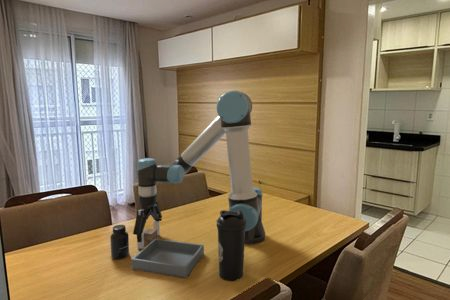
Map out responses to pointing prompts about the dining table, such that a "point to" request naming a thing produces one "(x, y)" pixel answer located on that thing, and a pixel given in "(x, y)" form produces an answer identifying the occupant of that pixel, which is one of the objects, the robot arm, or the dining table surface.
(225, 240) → the water bottle
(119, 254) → the supplement bottle
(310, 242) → the dining table surface
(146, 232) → the walnut cube
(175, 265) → the tray
